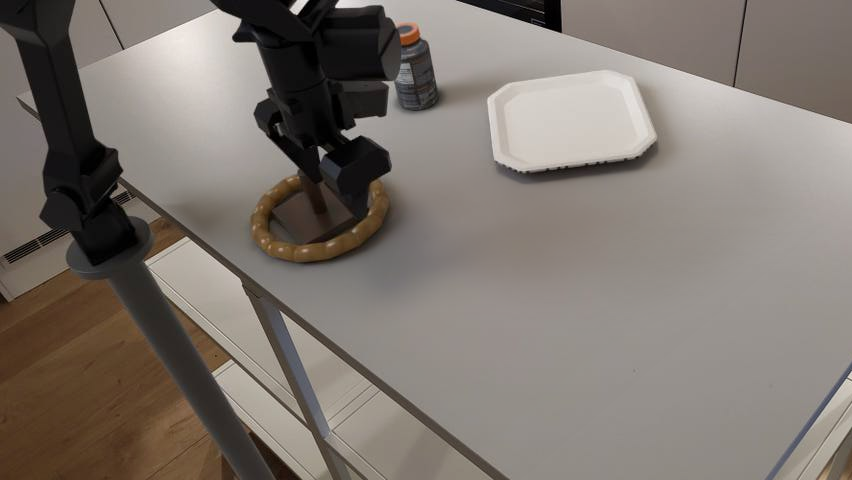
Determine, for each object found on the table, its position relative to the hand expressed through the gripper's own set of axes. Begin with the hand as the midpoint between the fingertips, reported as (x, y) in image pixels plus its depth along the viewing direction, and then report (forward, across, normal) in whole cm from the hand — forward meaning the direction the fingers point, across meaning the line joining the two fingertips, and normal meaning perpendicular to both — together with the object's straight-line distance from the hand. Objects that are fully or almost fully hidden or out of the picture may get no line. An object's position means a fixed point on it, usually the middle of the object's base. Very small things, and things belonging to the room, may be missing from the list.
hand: (339, 199), depth 85 cm
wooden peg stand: (+7, +8, 0) cm, 10 cm away
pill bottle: (+7, +20, -24) cm, 32 cm away
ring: (+6, +7, 0) cm, 9 cm away
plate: (+7, -2, -33) cm, 34 cm away
